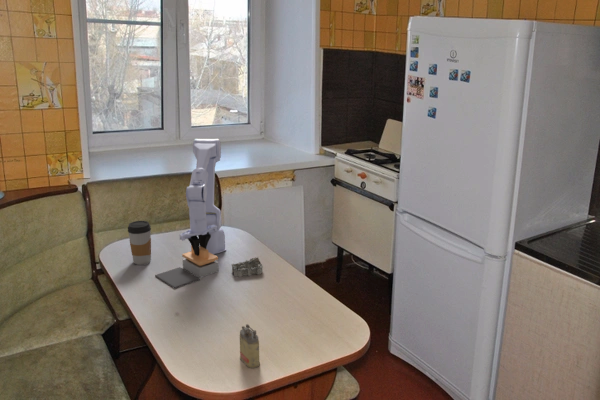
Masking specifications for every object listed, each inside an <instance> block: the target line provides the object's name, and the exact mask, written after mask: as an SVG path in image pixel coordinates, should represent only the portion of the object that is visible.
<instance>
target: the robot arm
mask: <svg viewBox="0 0 600 400" xmlns="http://www.w3.org/2000/svg"><path fill="white" fill-rule="evenodd" d="M221 145H222V144H221V140H220V139H219V138H194V140H193V141H192V152H193V154H194V156H195V159H196V164H195V165H196V166H195V169H192V172H191V176H190V182H189V186H186V190H185V197H186V202H187V207H188V212H189V213H188V214H189V215H188V216H189V229H188V230H186V231H184V232H182V233H179V235H178V236H179V240H181V241H182V242H183V241H186V240H188V242H189V244H191V245H192V248H193V250H194V254H195V255H197V256H199V246H201V247H203V248H205V249H207V250H208V252H209V253H211V254H213V255H216V254H219V253H222V252H223V253H224V252H225V251H227V248H226V235H225V231H224V229H223V228H222V211H221V209H220V208H218V207H217V206H216V205H215V183H216V182H215V179H216V178H215V175H216V174H215V173H216V165H217V163H219V161H221V156H222V155H221V153H222V147H221ZM191 245H190V246H191Z"/></svg>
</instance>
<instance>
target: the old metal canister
mask: <svg viewBox="0 0 600 400" xmlns="http://www.w3.org/2000/svg"><path fill="white" fill-rule="evenodd" d="M239 354H240V355H239V360H241V361H242V362H243V363H244V364H245V365H246V366H247V368H251V369H252V368H253V369H254V368H258V367H259V366H260V365H261V364H260V341H259V336H258V335H257V330H255V329H253V328H251V327H250V325H249V324H248V323H247V324H245V326H244V325H242V326H241V329H240V331H239Z"/></svg>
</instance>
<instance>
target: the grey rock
mask: <svg viewBox="0 0 600 400" xmlns="http://www.w3.org/2000/svg"><path fill="white" fill-rule="evenodd" d="M230 266H231V268H232V269H231V270H232V271H231V272H232V273H234V274H233V275H234V277H238V278H239V277H240V278H241V277H243V276H252V275H253V274H256V275H261V273H263V268H264V266H263V264H262V263H261V260H260V258H259V256H257V257H253V258H250V259H249V260H245V261H240V262H236V263H231V265H230Z"/></svg>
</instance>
